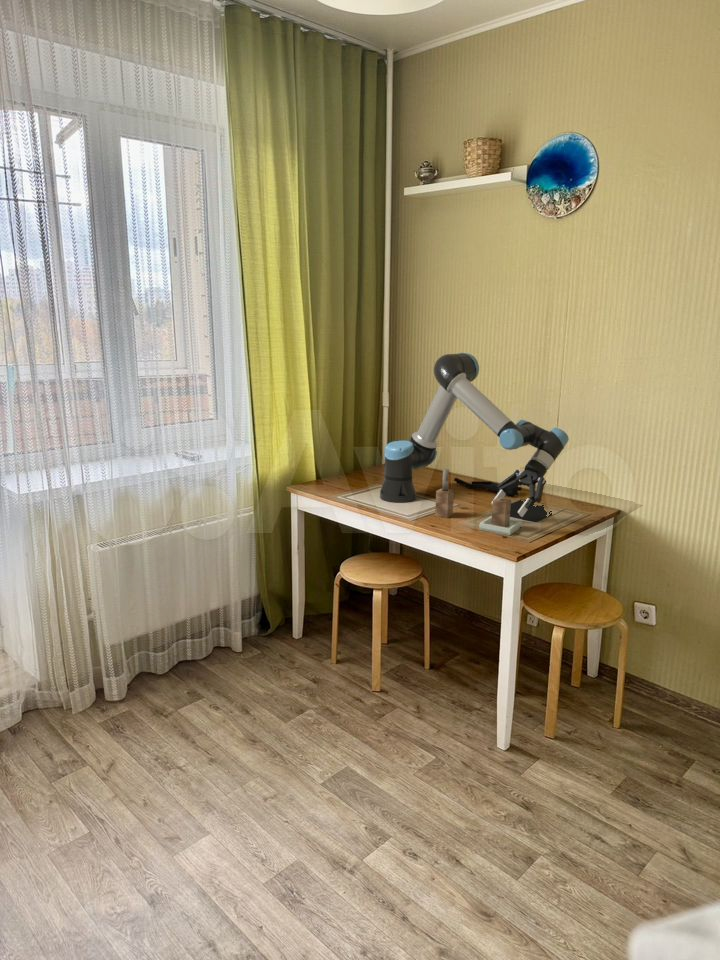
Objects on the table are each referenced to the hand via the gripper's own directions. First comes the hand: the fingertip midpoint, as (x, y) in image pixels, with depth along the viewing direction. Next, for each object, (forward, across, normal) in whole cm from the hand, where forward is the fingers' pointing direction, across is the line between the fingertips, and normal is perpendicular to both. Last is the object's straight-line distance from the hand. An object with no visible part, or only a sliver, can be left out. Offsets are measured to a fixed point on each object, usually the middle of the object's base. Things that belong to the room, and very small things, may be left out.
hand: (506, 509), depth 252 cm
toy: (-16, +44, -27) cm, 54 cm away
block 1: (+12, +23, +2) cm, 26 cm away
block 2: (+6, 0, -3) cm, 6 cm away
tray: (+6, 0, -3) cm, 7 cm away
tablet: (-11, +12, -22) cm, 27 cm away
